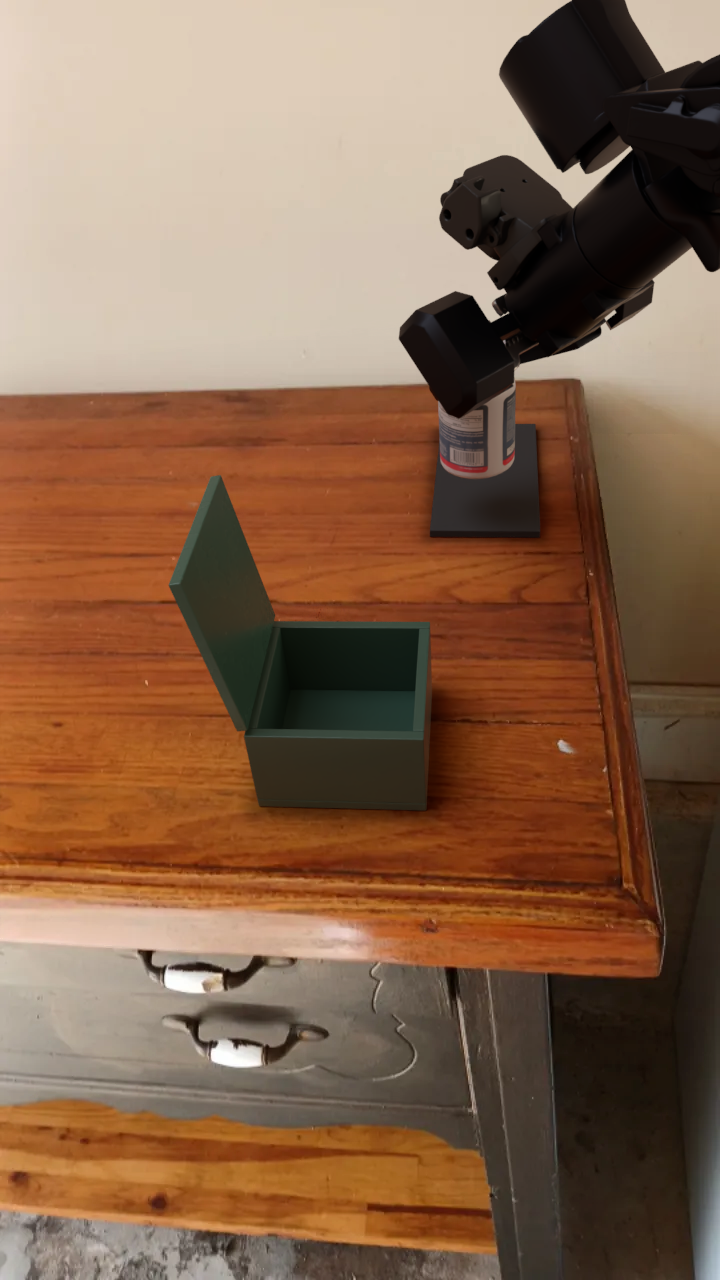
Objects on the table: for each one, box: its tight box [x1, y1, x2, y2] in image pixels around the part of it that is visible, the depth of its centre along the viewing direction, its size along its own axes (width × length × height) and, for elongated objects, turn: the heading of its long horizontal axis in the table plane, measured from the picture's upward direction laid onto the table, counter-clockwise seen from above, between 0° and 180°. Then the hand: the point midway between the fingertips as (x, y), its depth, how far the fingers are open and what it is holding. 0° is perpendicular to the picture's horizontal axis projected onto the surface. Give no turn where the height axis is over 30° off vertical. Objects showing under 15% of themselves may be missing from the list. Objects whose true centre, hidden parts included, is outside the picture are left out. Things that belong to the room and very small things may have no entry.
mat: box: [429, 423, 541, 539], centre depth 76 cm, size 16×8×1 cm, turn 173°
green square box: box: [243, 620, 433, 812], centre depth 54 cm, size 9×9×6 cm
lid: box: [168, 474, 276, 732], centre depth 49 cm, size 10×9×1 cm
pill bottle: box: [437, 340, 517, 479], centre depth 65 cm, size 5×5×9 cm
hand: (461, 378), depth 65 cm, fingers closed on pill bottle, 5 cm apart
